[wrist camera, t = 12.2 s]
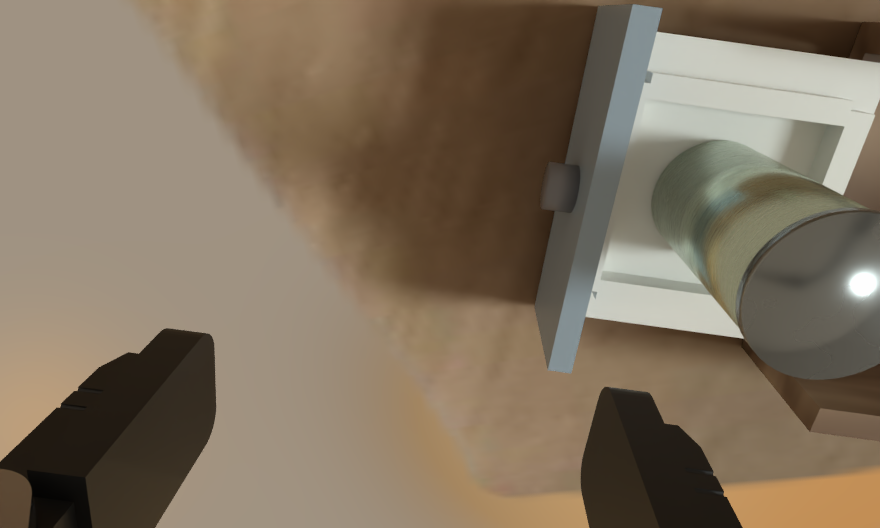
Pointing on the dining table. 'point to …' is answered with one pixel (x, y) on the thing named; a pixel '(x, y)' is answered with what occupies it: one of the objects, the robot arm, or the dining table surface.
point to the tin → (777, 257)
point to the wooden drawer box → (876, 389)
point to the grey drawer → (660, 141)
